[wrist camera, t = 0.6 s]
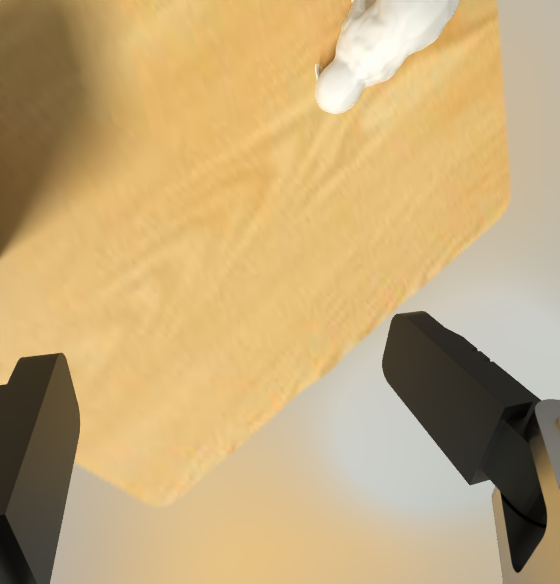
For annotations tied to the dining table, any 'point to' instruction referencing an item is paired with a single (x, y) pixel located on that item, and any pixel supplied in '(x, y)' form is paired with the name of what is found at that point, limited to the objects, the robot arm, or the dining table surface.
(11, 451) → the robot arm
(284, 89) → the dining table surface
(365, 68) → the white animal figurine
